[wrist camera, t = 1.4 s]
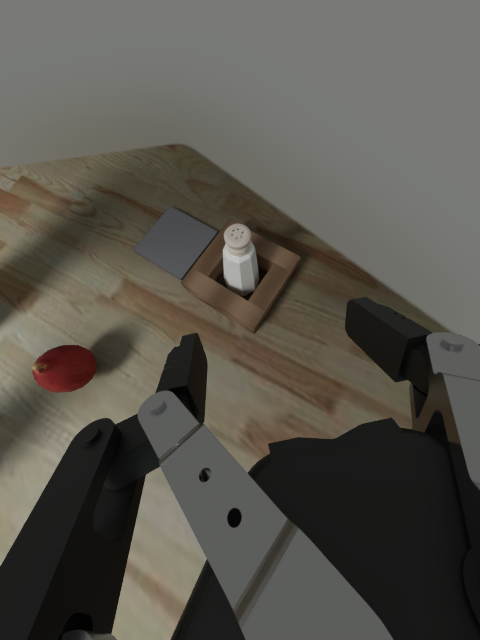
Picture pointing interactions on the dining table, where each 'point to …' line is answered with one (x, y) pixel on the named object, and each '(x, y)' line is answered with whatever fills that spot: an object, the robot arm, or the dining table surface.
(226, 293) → the socket block
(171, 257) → the rubber pad
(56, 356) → the onion
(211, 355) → the dining table surface
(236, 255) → the pepper shaker
